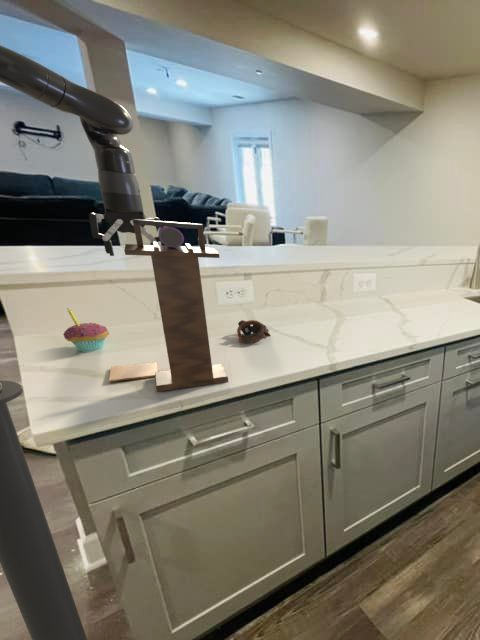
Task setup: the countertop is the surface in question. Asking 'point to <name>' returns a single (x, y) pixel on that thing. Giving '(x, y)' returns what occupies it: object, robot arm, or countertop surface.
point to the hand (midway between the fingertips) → (133, 256)
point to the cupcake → (86, 335)
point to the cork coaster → (133, 371)
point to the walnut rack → (181, 308)
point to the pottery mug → (251, 331)
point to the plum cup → (170, 236)
